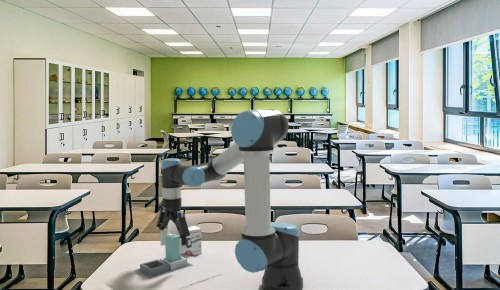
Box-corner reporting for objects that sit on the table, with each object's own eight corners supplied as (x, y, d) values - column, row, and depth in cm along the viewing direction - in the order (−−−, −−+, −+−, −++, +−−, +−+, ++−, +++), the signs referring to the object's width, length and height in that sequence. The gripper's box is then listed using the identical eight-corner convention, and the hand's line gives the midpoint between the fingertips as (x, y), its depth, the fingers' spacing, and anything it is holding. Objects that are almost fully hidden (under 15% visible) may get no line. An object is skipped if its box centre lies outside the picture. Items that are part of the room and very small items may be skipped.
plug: (181, 264, 188) (180, 233, 187) (172, 267, 185) (171, 236, 184) (175, 261, 191) (174, 231, 190) (165, 264, 188) (165, 233, 187)
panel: (193, 268, 188) (193, 259, 187) (150, 281, 174) (150, 272, 174) (176, 260, 196) (176, 252, 196) (134, 273, 183) (133, 264, 182)
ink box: (184, 257, 200) (183, 231, 198) (179, 254, 204) (178, 228, 202) (202, 254, 204) (201, 228, 203) (196, 250, 208) (196, 225, 207)
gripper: (198, 200, 179) (199, 254, 181) (162, 191, 197) (164, 239, 199) (182, 203, 174) (183, 258, 176) (147, 193, 192) (148, 243, 194)
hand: (173, 248), depth 187 cm, fingers open, 13 cm apart
